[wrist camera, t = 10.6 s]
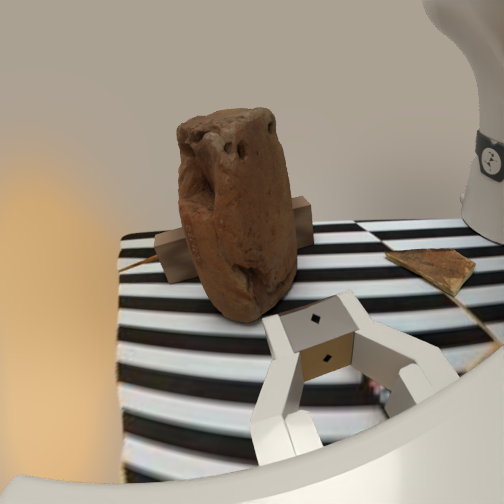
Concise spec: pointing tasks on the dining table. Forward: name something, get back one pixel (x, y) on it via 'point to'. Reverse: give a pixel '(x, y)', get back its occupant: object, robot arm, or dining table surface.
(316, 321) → the robot arm
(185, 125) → the weathered terracotta carving
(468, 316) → the dining table surface
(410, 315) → the dining table surface
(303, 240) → the board
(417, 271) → the brown flat angular piece
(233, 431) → the dining table surface
